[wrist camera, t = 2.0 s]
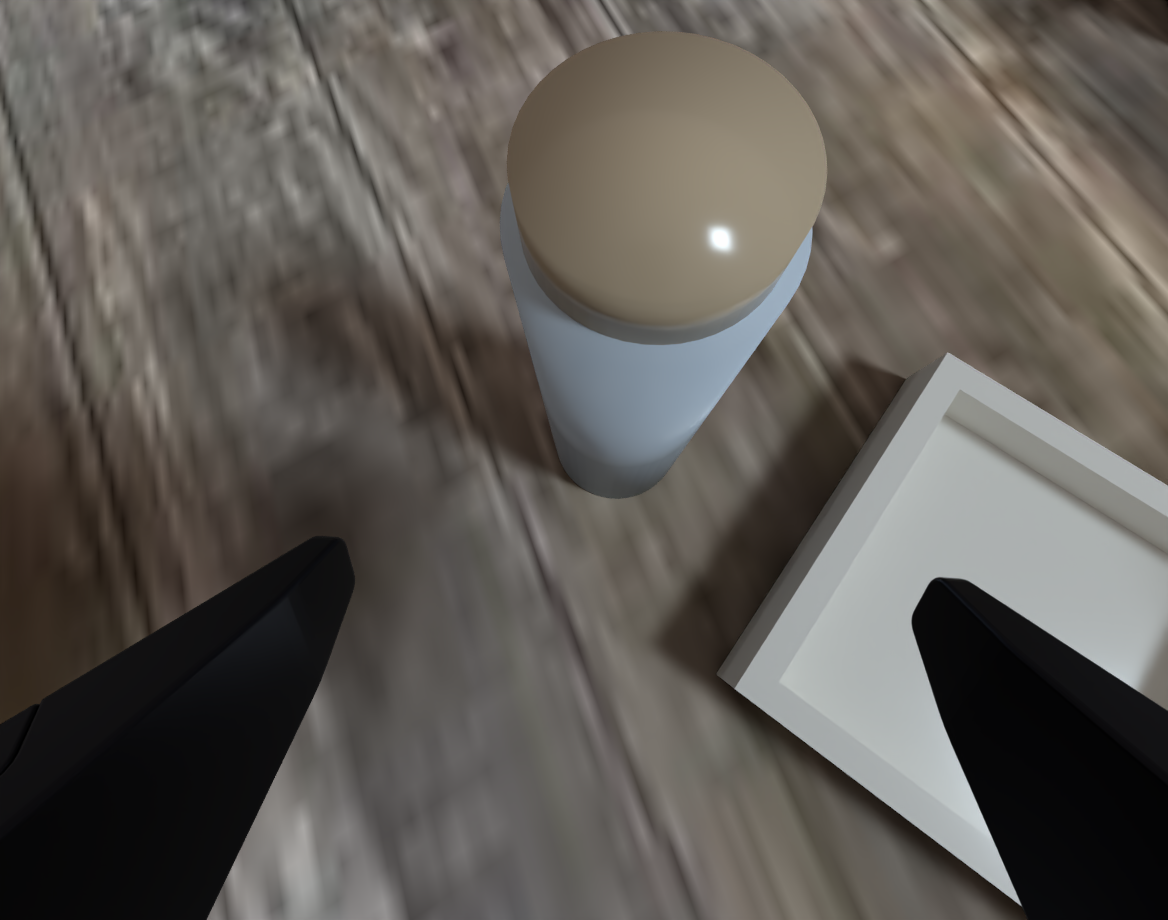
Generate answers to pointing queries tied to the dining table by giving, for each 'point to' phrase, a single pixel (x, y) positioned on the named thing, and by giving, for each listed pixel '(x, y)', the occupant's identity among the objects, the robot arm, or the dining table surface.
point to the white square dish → (955, 550)
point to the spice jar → (653, 240)
